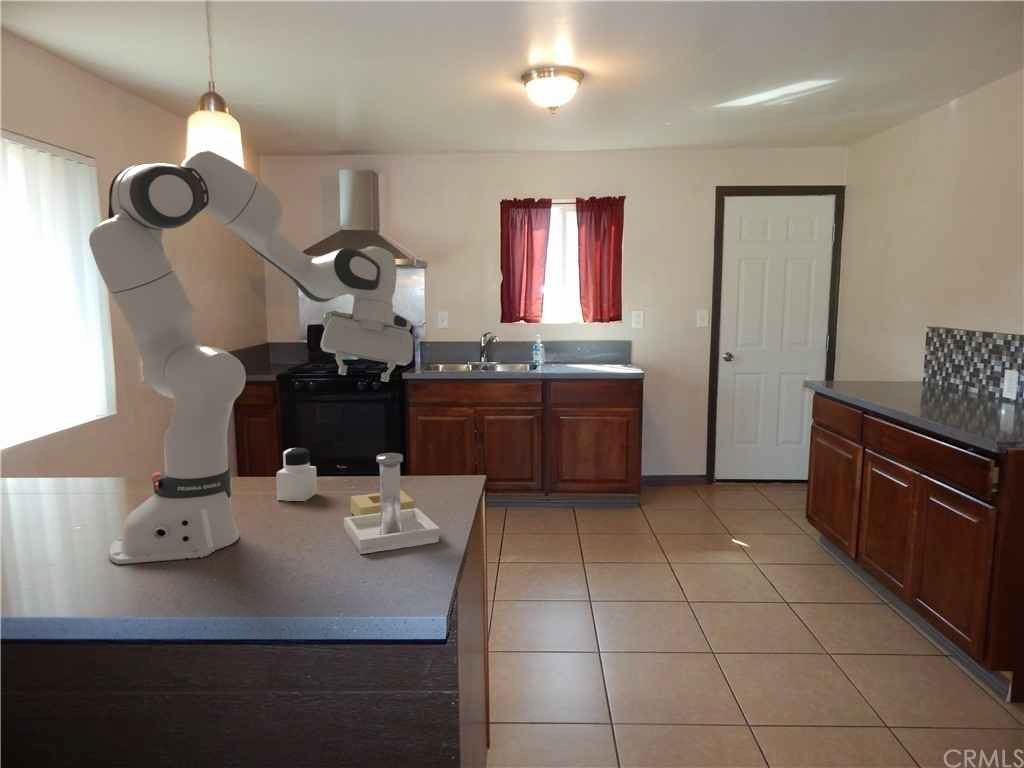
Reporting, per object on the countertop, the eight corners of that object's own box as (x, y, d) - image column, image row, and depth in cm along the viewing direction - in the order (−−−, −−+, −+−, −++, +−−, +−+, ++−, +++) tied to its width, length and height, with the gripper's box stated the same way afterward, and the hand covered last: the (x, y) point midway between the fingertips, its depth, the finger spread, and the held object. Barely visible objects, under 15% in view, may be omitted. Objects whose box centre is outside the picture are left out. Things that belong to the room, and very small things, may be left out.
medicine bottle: (317, 494, 162) (316, 446, 161) (305, 502, 155) (304, 453, 154) (289, 492, 163) (288, 445, 161) (276, 501, 156) (275, 452, 154)
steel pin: (381, 538, 130) (380, 460, 128) (375, 529, 135) (373, 454, 133) (407, 534, 133) (405, 457, 130) (399, 526, 137) (398, 451, 135)
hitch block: (360, 525, 140) (360, 507, 140) (350, 513, 148) (350, 496, 147) (414, 518, 145) (414, 501, 145) (402, 506, 153) (401, 490, 153)
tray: (360, 555, 124) (360, 540, 124) (344, 531, 136) (343, 517, 136) (439, 542, 131) (439, 528, 131) (417, 521, 144) (417, 508, 143)
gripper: (327, 304, 141) (318, 366, 138) (418, 323, 149) (411, 382, 146) (322, 312, 146) (313, 372, 143) (410, 330, 154) (404, 387, 151)
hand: (363, 377), depth 145 cm, fingers open, 8 cm apart
